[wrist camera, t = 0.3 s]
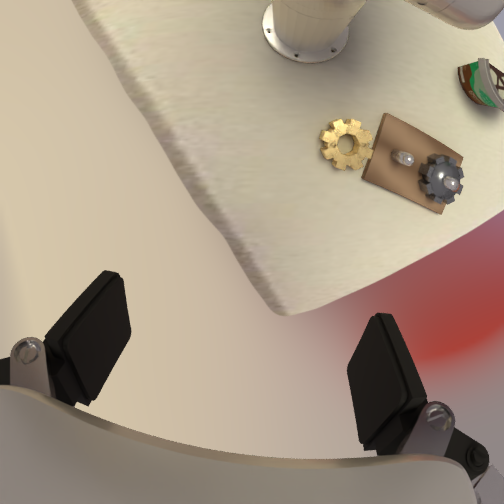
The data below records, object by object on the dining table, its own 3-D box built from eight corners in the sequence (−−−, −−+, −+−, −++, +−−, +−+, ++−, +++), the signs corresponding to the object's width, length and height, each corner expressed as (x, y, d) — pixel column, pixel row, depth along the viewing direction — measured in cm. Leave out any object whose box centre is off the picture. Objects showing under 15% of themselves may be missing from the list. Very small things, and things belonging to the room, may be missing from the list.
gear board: (383, 113, 35) (387, 113, 34) (458, 155, 36) (463, 157, 35) (361, 177, 40) (364, 179, 39) (437, 212, 41) (441, 214, 40)
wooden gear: (327, 111, 36) (331, 111, 34) (372, 130, 37) (379, 131, 34) (312, 157, 40) (315, 160, 37) (357, 173, 40) (363, 178, 37)
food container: (448, 94, 32) (484, 93, 23) (451, 63, 29) (485, 57, 20) (495, 121, 32) (530, 127, 23) (498, 92, 29) (533, 94, 20)
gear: (427, 145, 35) (444, 150, 30) (459, 165, 35) (478, 172, 31) (411, 188, 38) (427, 198, 34) (444, 205, 39) (461, 216, 34)
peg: (392, 147, 36) (407, 151, 31) (402, 152, 36) (418, 157, 31) (388, 158, 37) (403, 163, 32) (398, 162, 37) (413, 169, 32)
